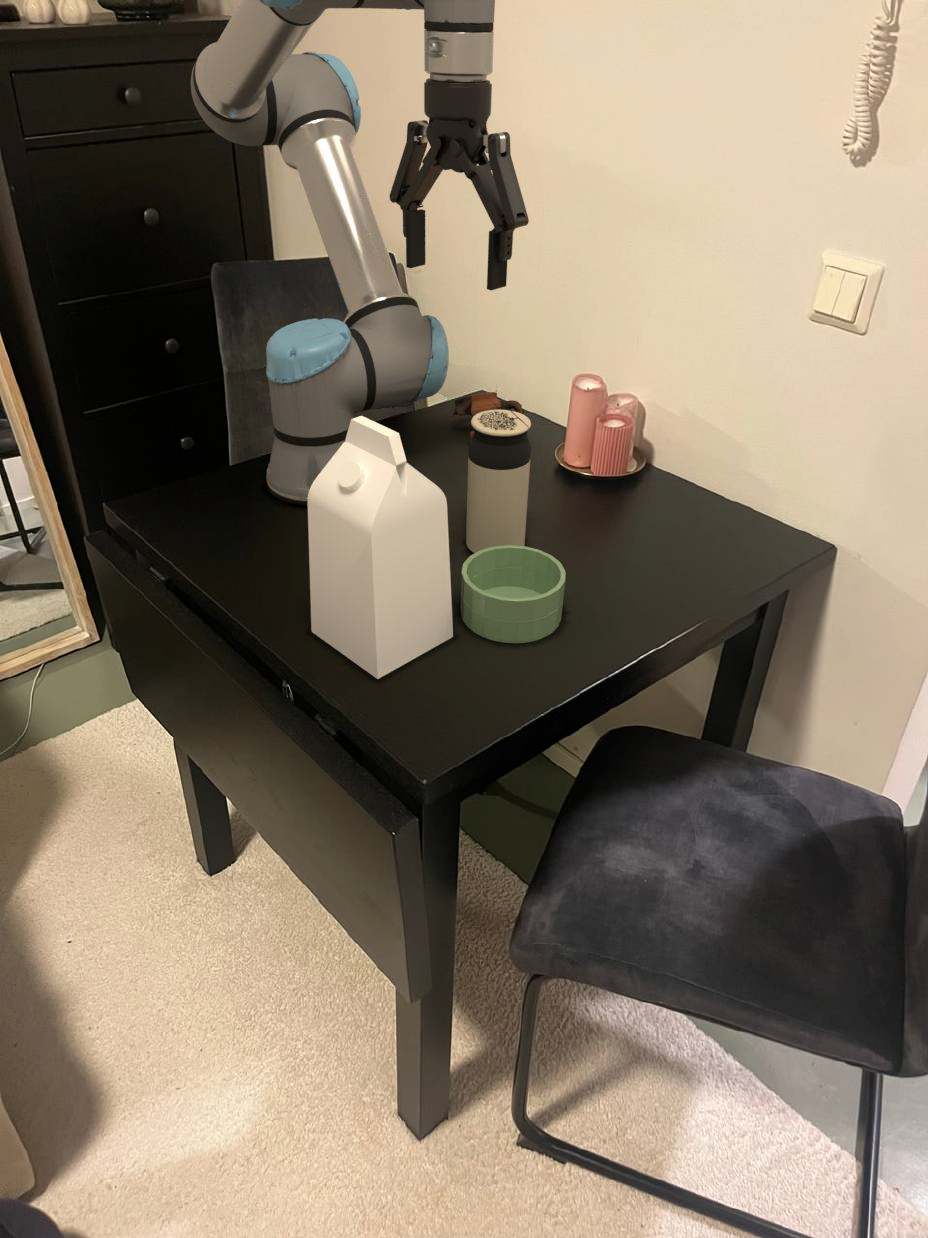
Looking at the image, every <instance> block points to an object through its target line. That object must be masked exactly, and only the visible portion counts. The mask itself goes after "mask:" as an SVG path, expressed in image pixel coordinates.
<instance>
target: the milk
mask: <svg viewBox="0 0 928 1238" xmlns="http://www.w3.org/2000/svg"><path fill="white" fill-rule="evenodd" d="M448 516H449V515H448V501H447V496H446V495H445V493H444V491H443V490H442V489H441V487H439V486H438V485H437V484H436V483H435V482H433V481H431V480H430V479H429V478H427V476H425V475H424V474H423V473H421V471H419V470H418V469H416V468H414V467H413V466H412V465H411V464H410V463H408V462H407V458H406V454H405V450H404V447H403V443H402V439H401V435H400V433H399V432H397V431H395V430H393V429H391V428H389V427H387V426H385V425H383V424H380V423H378V422H376V421H374V420H371V419H369V418H368V417H365V416H363V415H359V416H357V417H354V418H353V419H351V422H350V425H349V429H348V432H347V436H346V442H344V443H343V444H342V445H341V447H340V448H339V449H338V451H337V452H336V453H335V454H334V456H333V457H332V458H331V459H330V461H329V462H328V463H327V465H326V466H325V467H324V468H323V470H322V471H321V472H320V474H319V475H318V476H317V478H316V479H315V480H314V482H313V484H312V485H311V487H310V490H309V493H308V506H307V528H308V557H309V558H308V563H309V592H310V594H309V596H310V623H311V625H310V626H311V631H310V632H311V633H313V634H314V635H316V636H317V637H318V638H319V639H321V640H322V641H323V642H325V643H326V644H328V645H330V646H331V647H332V648H333V649H335V650H336V651H338V652H339V653H340V654H342V655H343V656H344V657H346V658H347V659H349V660H350V661H351V662H353V663H354V664H356V665H357V666H358V667H359V668H361V669H363V671H366V672H367V673H368V674H370V675H371V676H373V677H374V678H375V679H377V680H379V679H381V678H382V677H384V676H386V675H389V674H390V673H392V672H393V671H395V670H397V669H398V668H400V667H402V666H404V665H405V664H407V663H409V662H411V661H413V660H415V659H416V658H418V657H420V656H421V655H423V654H425V653H427V652H429V651H431V650H432V649H434V648H436V647H438V646H440V645H441V644H443V643H445V642H448V641H449V640H450V639H452V638H454V625H453V624H454V623H453V604H452V603H453V602H452V584H451V583H452V582H451V581H452V580H451V562H450V561H451V560H450V537H449V519H448V518H449V517H448Z"/></svg>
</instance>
